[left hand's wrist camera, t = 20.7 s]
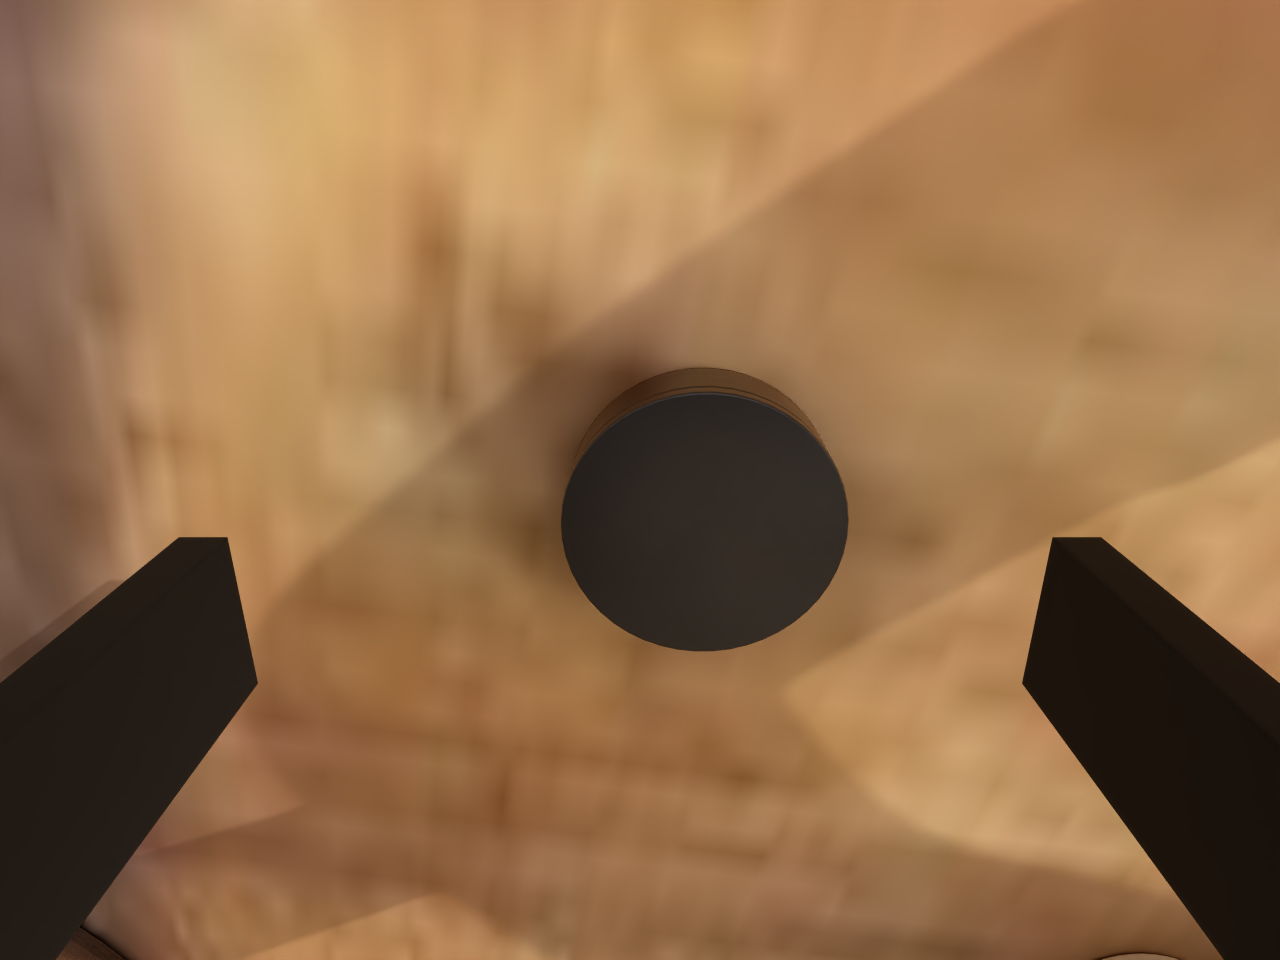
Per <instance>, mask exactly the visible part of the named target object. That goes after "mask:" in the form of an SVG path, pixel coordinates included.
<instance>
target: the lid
mask: <svg viewBox="0 0 1280 960" xmlns="http://www.w3.org/2000/svg"><path fill="white" fill-rule="evenodd" d="M561 531H562V541H563V546H564V551H565V555H566V558H567V561H568V564H569V566H570V569H571V572H572V574H573V576H574V577H575V579H576V581H577V583H578V585H579V587H580V588H581V589H582V591H583V592H584V594H585V595H586V596H587V598H588V599H589V600H590V602H591V603H592V604H593V605H594V606H595V607H596V608H597V609H598V610H599V611H600V612H601V613H602V614H603V615H604V616H606V617H607V618H608V619H609V620H611V621H612V622H613V623H614V624H616V625H617V626H619V627H620V628H622V629H624V630H625V631H627V632H628V633H630V634H632V635H635V636H637V637H639V638H641V639H643V640H645V641H648V642H651V643H654V644H657V645H660V646H664V647H669V648H673V649H678V650H688V651H718V650H727V649H733V648H737V647H741V646H746V645H749V644H752V643H754V642H757V641H760V640H763V639H765V638H767V637H769V636H771V635H773V634H775V633H777V632H779V631H781V630H783V629H784V628H786V627H787V626H789V625H790V624H792V623H793V622H795V621H796V620H797V619H798V618H800V617H801V616H802V615H803V614H804V613H806V612H807V611H808V610H809V609H810V608H811V607H812V606H813V605H814V603H815V602H816V601H817V600H818V599H819V598H820V597H821V595H822V594H823V592H824V591H825V590H826V588H827V587H828V586H829V584H830V582H831V580H832V578H833V577H834V575H835V573H836V571H837V569H838V567H839V564H840V561H841V559H842V556H843V553H844V549H845V544H846V540H847V532H848V506H847V499H846V495H845V490H844V486H843V483H842V480H841V478H840V475H839V472H838V470H837V468H836V466H835V464H834V462H833V460H832V458H831V457H830V455H829V453H828V451H827V449H826V447H825V445H824V443H823V442H822V440H821V438H820V436H819V434H818V433H817V431H816V429H815V427H814V425H813V424H812V423H811V421H810V420H809V419H808V417H807V416H806V415H805V414H804V412H803V411H802V410H801V409H800V408H799V407H798V406H797V405H796V404H795V403H794V402H793V401H792V400H791V399H789V398H788V397H787V396H785V395H784V394H783V393H781V392H780V391H779V390H777V389H776V388H774V387H772V386H770V385H768V384H766V383H765V382H763V381H761V380H758V379H756V378H753V377H750V376H748V375H745V374H741V373H737V372H733V371H729V370H722V369H712V368H693V369H685V370H678V371H672V372H669V373H665V374H662V375H658V376H655V377H653V378H650V379H648V380H646V381H643V382H641V383H639V384H637V385H636V386H634V387H632V388H630V389H629V390H627V391H625V392H624V393H623V394H621V395H620V396H619V397H618V398H616V399H615V400H614V401H612V402H611V403H610V404H609V405H608V406H607V407H606V408H605V409H604V410H603V411H602V412H601V413H600V414H599V416H598V417H597V418H596V420H595V421H594V422H593V424H592V425H591V426H590V428H589V429H588V431H587V433H586V435H585V437H584V438H583V440H582V442H581V444H580V447H579V450H578V452H577V455H576V458H575V461H574V464H573V467H572V471H571V474H570V477H569V481H568V484H567V487H566V491H565V495H564V500H563V504H562V515H561Z"/></svg>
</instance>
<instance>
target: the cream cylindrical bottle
mask: <svg viewBox="0 0 1280 960" xmlns="http://www.w3.org/2000/svg"><path fill="white" fill-rule="evenodd" d="M1102 960H1178V959H1176V958H1172V957H1168V956H1164V955H1157V954H1142V953H1141V954H1126V955H1118V956H1113V957H1109V958H1105V959H1102Z"/></svg>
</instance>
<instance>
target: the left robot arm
mask: <svg viewBox="0 0 1280 960" xmlns="http://www.w3.org/2000/svg"><path fill="white" fill-rule="evenodd" d="M257 684H258V682H257V677H256V672H255V667H254V663H253V658H252V653H251V648H250V643H249V639H248V634H247V629H246V624H245V619H244V615H243V610H242V605H241V600H240V595H239V591H238V586H237V581H236V576H235V572H234V567H233V562H232V557H231V552H230V548H229V543H228V538H227V537H179V538H178V539H176V540H175V541H174V542H173V543H171V544H170V545H169V546H168V547H167V548H165V549H164V550H163V551H162V552H160V553H159V554H158V555H157V556H155V557H154V558H153V559H152V560H151V561H149V562H148V563H147V564H146V565H144V566H143V567H142V568H141V569H140V570H138V571H137V572H136V573H135V574H133V575H132V576H131V577H130V578H129V579H127V580H126V581H125V582H124V583H122V584H121V585H120V586H119V587H118V588H116V589H115V590H114V591H113V592H111V593H110V594H109V595H108V596H107V597H105V598H104V599H103V600H102V601H100V602H99V603H98V604H97V605H96V606H94V607H93V608H92V609H91V610H89V611H88V612H87V613H86V614H85V615H83V616H82V617H81V618H80V619H78V620H77V621H76V622H75V623H73V624H72V625H71V626H70V627H69V628H67V629H66V630H65V631H64V632H62V633H61V634H60V635H59V636H58V637H56V638H55V639H54V640H53V641H51V642H50V643H49V644H48V645H47V646H45V647H44V648H43V649H42V650H40V651H39V652H38V653H37V654H36V655H34V656H33V657H32V658H31V659H29V660H28V661H27V662H26V663H25V664H23V665H22V666H21V667H20V668H18V669H17V670H16V671H15V672H14V673H12V674H11V675H10V676H9V677H7V678H6V679H5V680H4V681H3V682H1V683H0V960H124V959H123V958H122V957H121V956H120V955H118V954H117V953H116V952H114V951H113V950H112V949H110V948H109V947H108V946H106V945H105V944H104V943H102V942H101V941H100V940H98V939H97V938H95V937H94V936H92V935H90V934H89V933H87V932H86V931H84V930H83V929H81V928H80V926H81V925H82V923H83V922H84V921H85V919H86V918H87V916H88V915H89V914H90V912H91V911H92V910H93V908H94V907H95V905H96V904H97V903H98V901H99V900H100V899H101V897H102V896H103V895H104V893H105V892H106V890H107V889H108V888H109V886H110V885H111V884H112V882H113V881H114V879H115V878H116V877H117V875H118V874H119V873H120V871H121V870H122V869H123V867H124V866H125V864H126V863H127V862H128V860H129V859H130V858H131V856H132V855H133V853H134V852H135V851H136V849H137V848H138V847H139V845H140V844H141V843H142V841H143V840H144V838H145V837H146V836H147V834H148V833H149V832H150V830H151V829H152V827H153V826H154V825H155V823H156V822H157V821H158V819H159V818H160V817H161V815H162V814H163V812H164V811H165V810H166V808H167V807H168V806H169V804H170V803H171V802H172V800H173V799H174V797H175V796H176V795H177V793H178V792H179V791H180V789H181V788H182V786H183V785H184V784H185V782H186V781H187V780H188V778H189V777H190V776H191V774H192V773H193V771H194V770H195V769H196V767H197V766H198V765H199V763H200V762H201V760H202V759H203V758H204V756H205V755H206V754H207V752H208V751H209V750H210V748H211V747H212V745H213V744H214V743H215V741H216V740H217V739H218V737H219V736H220V734H221V733H222V732H223V730H224V729H225V728H226V726H227V725H228V724H229V722H230V721H231V719H232V718H233V717H234V715H235V714H236V713H237V711H238V710H239V708H240V707H241V706H242V704H243V703H244V702H245V700H246V699H247V698H248V696H249V695H250V693H251V692H252V691H253V689H254V688H255V687H256V685H257ZM1022 684H1023V685H1024V687H1025V688H1026V689H1027V691H1028V692H1029V693H1030V695H1031V696H1032V698H1033V699H1034V700H1035V702H1036V703H1037V704H1038V706H1039V707H1040V708H1041V710H1042V711H1043V713H1044V714H1045V715H1046V717H1047V718H1048V719H1049V721H1050V722H1051V724H1052V725H1053V726H1054V728H1055V729H1056V730H1057V732H1058V733H1059V734H1060V736H1061V737H1062V739H1063V740H1064V741H1065V743H1066V744H1067V745H1068V747H1069V748H1070V750H1071V751H1072V752H1073V754H1074V755H1075V756H1076V758H1077V759H1078V760H1079V762H1080V763H1081V765H1082V766H1083V767H1084V769H1085V770H1086V771H1087V773H1088V774H1089V776H1090V777H1091V778H1092V780H1093V781H1094V782H1095V784H1096V785H1097V786H1098V788H1099V789H1100V791H1101V792H1102V793H1103V795H1104V796H1105V797H1106V799H1107V800H1108V802H1109V803H1110V804H1111V806H1112V807H1113V808H1114V810H1115V811H1116V812H1117V814H1118V815H1119V817H1120V818H1121V819H1122V821H1123V822H1124V823H1125V825H1126V826H1127V827H1128V829H1129V830H1130V832H1131V833H1132V834H1133V836H1134V837H1135V838H1136V840H1137V841H1138V843H1139V844H1140V845H1141V847H1142V848H1143V849H1144V851H1145V852H1146V853H1147V855H1148V856H1149V858H1150V859H1151V860H1152V862H1153V863H1154V864H1155V866H1156V867H1157V869H1158V870H1159V871H1160V873H1161V874H1162V875H1163V877H1164V878H1165V879H1166V881H1167V882H1168V884H1169V885H1170V886H1171V888H1172V889H1173V890H1174V892H1175V893H1176V895H1177V896H1178V897H1179V899H1180V900H1181V901H1182V903H1183V904H1184V905H1185V907H1186V908H1187V910H1188V911H1189V912H1190V914H1191V915H1192V916H1193V918H1194V919H1195V921H1196V922H1197V923H1198V925H1199V926H1200V927H1201V929H1202V930H1203V931H1204V933H1205V934H1206V936H1207V937H1208V938H1209V940H1210V941H1211V942H1212V944H1213V945H1214V947H1215V948H1216V949H1217V951H1218V952H1219V953H1220V955H1221V956H1222V957H1223V959H1224V960H1280V683H1279V682H1277V681H1276V680H1275V679H1274V678H1273V677H1271V676H1270V675H1269V674H1268V673H1266V672H1265V671H1264V670H1263V669H1262V668H1260V667H1259V666H1258V665H1257V664H1255V663H1254V662H1253V661H1252V660H1251V659H1249V658H1248V657H1247V656H1246V655H1244V654H1243V653H1242V652H1241V651H1240V650H1238V649H1237V648H1236V647H1235V646H1233V645H1232V644H1231V643H1230V642H1229V641H1227V640H1226V639H1225V638H1224V637H1222V636H1221V635H1220V634H1219V633H1218V632H1216V631H1215V630H1214V629H1213V628H1211V627H1210V626H1209V625H1208V624H1207V623H1205V622H1204V621H1203V620H1202V619H1200V618H1199V617H1198V616H1197V615H1195V614H1194V613H1193V612H1192V611H1191V610H1189V609H1188V608H1187V607H1186V606H1184V605H1183V604H1182V603H1181V602H1180V601H1178V600H1177V599H1176V598H1175V597H1173V596H1172V595H1171V594H1170V593H1169V592H1167V591H1166V590H1165V589H1164V588H1162V587H1161V586H1160V585H1159V584H1158V583H1156V582H1155V581H1154V580H1153V579H1151V578H1150V577H1149V576H1148V575H1147V574H1145V573H1144V572H1143V571H1142V570H1140V569H1139V568H1138V567H1137V566H1136V565H1134V564H1133V563H1132V562H1131V561H1129V560H1128V559H1127V558H1126V557H1125V556H1123V555H1122V554H1121V553H1120V552H1118V551H1117V550H1116V549H1115V548H1113V547H1112V546H1111V545H1110V544H1109V543H1107V542H1106V541H1105V540H1104V539H1102V538H1101V537H1053V538H1052V543H1051V548H1050V552H1049V557H1048V562H1047V567H1046V572H1045V576H1044V581H1043V586H1042V591H1041V596H1040V600H1039V605H1038V610H1037V615H1036V619H1035V624H1034V629H1033V634H1032V639H1031V643H1030V648H1029V653H1028V658H1027V663H1026V667H1025V672H1024V677H1023V682H1022Z"/></svg>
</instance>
